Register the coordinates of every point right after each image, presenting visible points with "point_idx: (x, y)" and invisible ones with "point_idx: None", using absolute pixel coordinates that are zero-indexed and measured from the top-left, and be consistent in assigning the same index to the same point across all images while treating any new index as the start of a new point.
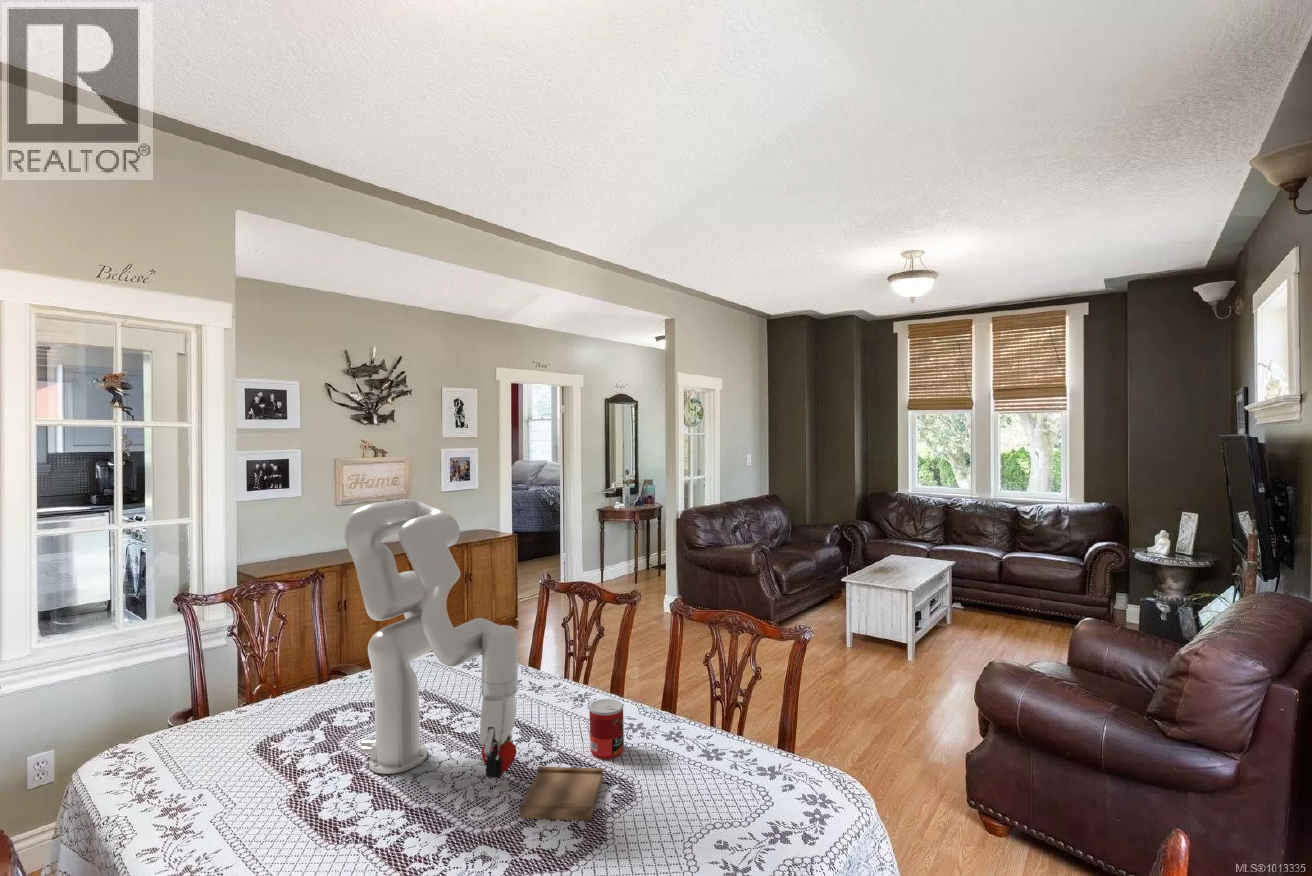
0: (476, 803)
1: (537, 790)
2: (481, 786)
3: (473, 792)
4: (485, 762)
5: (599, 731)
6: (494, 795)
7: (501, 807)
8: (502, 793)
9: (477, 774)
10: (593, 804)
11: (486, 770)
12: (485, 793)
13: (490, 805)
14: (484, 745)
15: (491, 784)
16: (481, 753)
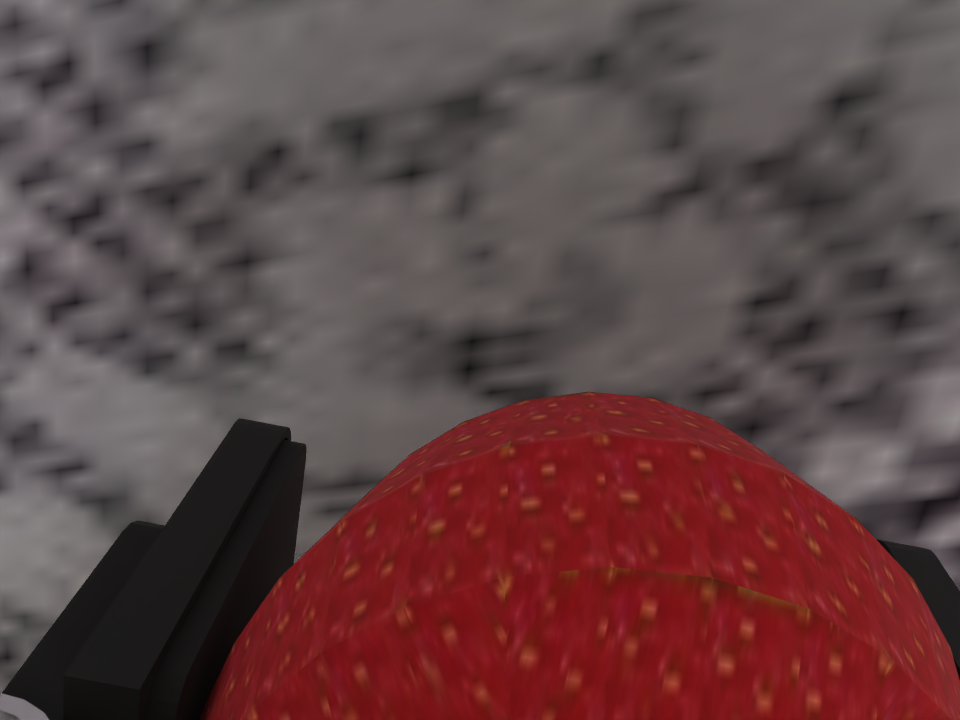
0: (87, 199)
1: None
2: (537, 197)
3: (380, 97)
4: (375, 486)
5: None
6: (278, 417)
7: (10, 531)
8: (319, 510)
9: (935, 63)
10: None
11: (197, 487)
12: (337, 288)
13: (46, 397)
14: (667, 676)
15: (568, 340)
16: (532, 454)
